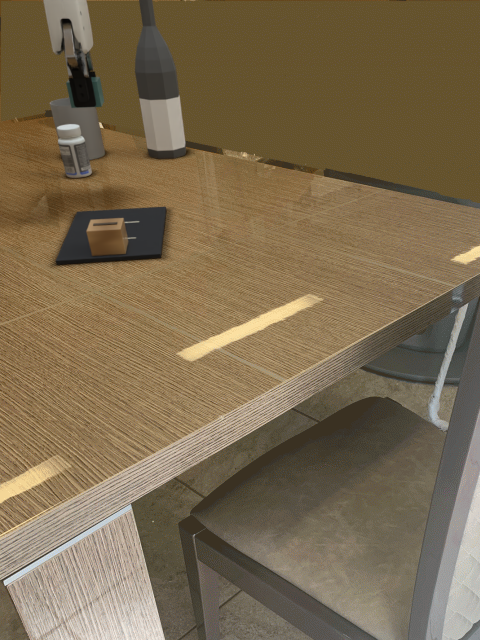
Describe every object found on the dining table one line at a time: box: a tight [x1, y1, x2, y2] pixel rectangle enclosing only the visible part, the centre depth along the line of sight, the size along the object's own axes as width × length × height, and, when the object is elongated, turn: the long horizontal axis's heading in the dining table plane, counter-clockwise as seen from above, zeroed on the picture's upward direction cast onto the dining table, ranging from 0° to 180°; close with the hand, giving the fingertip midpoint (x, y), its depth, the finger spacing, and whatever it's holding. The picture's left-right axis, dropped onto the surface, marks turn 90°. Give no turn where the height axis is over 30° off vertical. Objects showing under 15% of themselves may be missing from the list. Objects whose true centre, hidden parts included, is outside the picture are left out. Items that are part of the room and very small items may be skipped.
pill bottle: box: [56, 124, 93, 179], centre depth 118 cm, size 5×5×8 cm
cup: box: [49, 97, 106, 161], centre depth 128 cm, size 8×8×10 cm
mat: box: [55, 206, 167, 266], centre depth 95 cm, size 14×20×1 cm
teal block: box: [65, 76, 105, 108], centre depth 99 cm, size 4×4×4 cm
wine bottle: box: [134, 0, 187, 160], centre depth 123 cm, size 8×8×30 cm
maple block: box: [86, 218, 128, 256], centre depth 89 cm, size 4×4×4 cm
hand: (87, 101), depth 100 cm, fingers closed on teal block, 4 cm apart
